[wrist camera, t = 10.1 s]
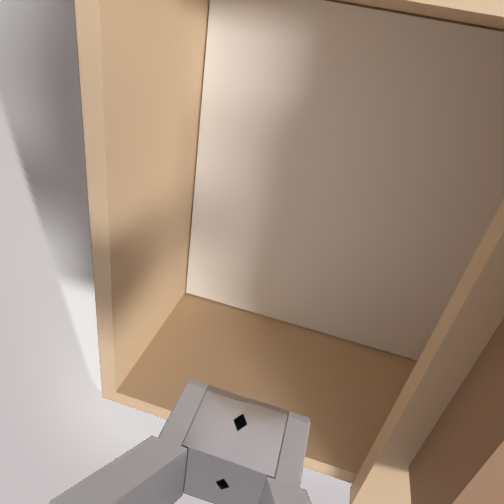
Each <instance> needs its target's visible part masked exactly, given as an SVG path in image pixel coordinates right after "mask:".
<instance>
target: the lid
mask: <svg viewBox="0 0 504 504" xmlns="http://www.w3.org/2000/svg"><path fill="white" fill-rule="evenodd" d="M350 504H504V199H503V201H502V202H501V204H500V206H499V208H498V210H497V212H496V214H495V216H494V218H493V219H492V221H491V223H490V225H489V227H488V229H487V231H486V233H485V235H484V236H483V238H482V240H481V242H480V244H479V246H478V248H477V250H476V252H475V253H474V255H473V257H472V259H471V261H470V263H469V265H468V267H467V268H466V270H465V272H464V274H463V276H462V278H461V280H460V282H459V284H458V285H457V287H456V289H455V291H454V293H453V295H452V297H451V299H450V301H449V302H448V304H447V306H446V308H445V310H444V312H443V314H442V316H441V318H440V319H439V321H438V323H437V325H436V327H435V329H434V331H433V333H432V335H431V336H430V338H429V340H428V342H427V344H426V346H425V348H424V350H423V351H422V353H421V355H420V357H419V359H418V361H417V363H416V365H415V367H414V368H413V370H412V372H411V374H410V376H409V378H408V380H407V382H406V384H405V385H404V387H403V389H402V391H401V393H400V395H399V397H398V399H397V401H396V402H395V404H394V406H393V408H392V410H391V412H390V414H389V416H388V418H387V419H386V421H385V423H384V425H383V427H382V429H381V431H380V433H379V435H378V436H377V438H376V440H375V442H374V444H373V446H372V448H371V450H370V451H369V453H368V455H367V457H366V459H365V461H364V463H363V465H362V467H361V468H360V470H359V472H358V474H357V476H356V478H355V480H354V482H353V484H352V485H351V487H350Z"/></svg>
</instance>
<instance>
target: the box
mask: <svg viewBox="0 0 504 504" xmlns="http://www.w3.org/2000/svg"><path fill="white" fill-rule="evenodd" d="M74 1H75V15H76V29H77V44H78V58H79V72H80V87H81V101H82V115H83V129H84V144H85V158H86V172H87V187H88V201H89V215H90V230H91V244H92V258H93V273H94V287H95V301H96V315H97V330H98V344H99V358H100V373H101V387H102V397H103V398H106V399H109V400H112V401H115V402H118V403H121V404H123V405H126V406H129V407H132V408H135V409H138V410H141V411H144V412H146V413H149V414H153V415H155V416H158V417H161V418H164V419H168V417H169V415H170V413H171V411H172V409H173V407H174V405H175V404H176V402H177V400H178V398H179V396H180V394H181V392H182V390H183V388H184V386H185V384H186V383H187V382H188V381H189V379H193V380H196V381H199V382H202V383H205V384H208V385H211V386H214V387H217V388H219V389H222V390H225V391H228V392H231V393H234V394H237V395H239V396H242V397H245V398H248V399H249V398H251V399H254V400H257V401H260V402H263V403H267V404H270V405H273V406H276V407H280V408H283V409H286V410H288V412H289V411H290V412H293V413H296V414H300V415H303V416H306V417H309V418H310V427H309V434H308V440H307V446H306V453H305V459H304V465H303V467H306V468H309V469H312V470H314V471H317V472H320V473H323V474H326V475H329V476H332V477H335V478H338V479H341V480H344V481H346V482H349V483H352V484H353V482H354V480H355V478H356V476H357V474H358V472H359V470H360V468H361V467H362V465H363V463H364V461H365V459H366V457H367V455H368V453H369V451H370V450H371V448H372V446H373V444H374V442H375V440H376V438H377V436H378V435H379V433H380V431H381V429H382V427H383V425H384V423H385V421H386V419H387V418H388V416H389V414H390V412H391V410H392V408H393V406H394V404H395V402H396V401H397V399H398V397H399V395H400V393H401V391H402V389H403V387H404V385H405V384H406V382H407V380H408V378H409V376H410V374H411V372H412V370H413V368H414V367H415V365H416V363H417V361H418V359H419V357H420V355H421V353H422V351H423V350H424V348H425V346H426V344H427V342H428V340H429V338H430V336H431V335H432V333H433V331H434V329H435V327H436V325H437V323H438V321H439V319H440V318H441V316H442V314H443V312H444V310H445V308H446V306H447V304H448V302H449V301H450V299H451V297H452V295H453V293H454V291H455V289H456V287H457V285H458V284H459V282H460V280H461V278H462V276H463V274H464V272H465V270H466V268H467V267H468V265H469V263H470V261H471V259H472V257H473V255H474V253H475V252H476V250H477V248H478V246H479V244H480V242H481V240H482V238H483V236H484V235H485V233H486V231H487V229H488V227H489V225H490V223H491V221H492V219H493V218H494V216H495V214H496V212H497V210H498V208H499V206H500V204H501V202H502V201H503V199H504V0H74Z"/></svg>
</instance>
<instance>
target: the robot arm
mask: <svg viewBox="0 0 504 504" xmlns="http://www.w3.org/2000/svg"><path fill="white" fill-rule="evenodd" d="M309 427H310V418H309V417H306V416H303V415H300V414H296V413H293V412H290V411H289V412H288V410H286V409H283V408H280V407H276V406H273V405H270V404H267V403H263V402H260V401H257V400H254V399H251V398H249V399H248V398H245V397H242V396H239V395H237V394H234V393H231V392H228V391H225V390H222V389H219V388H217V387H214V386H211V385H208V384H205V383H202V382H199V381H196V380H193V379H189V381H188V382H187V383H186V384H185V386H184V388H183V390H182V392H181V394H180V396H179V398H178V400H177V402H176V404H175V405H174V407H173V409H172V411H171V413H170V415H169V417H168V419H167V421H166V423H165V425H164V427H163V429H162V431H161V433H160V435H159V437H155V436H151V437H149V438H148V439H146V440H144V441H143V442H141V443H140V444H138V445H137V446H135V447H133V448H132V449H130V450H129V451H127V452H126V453H124V454H123V455H121V456H119V457H118V458H116V459H115V460H113V461H112V462H110V463H108V464H107V465H106V466H104V467H102V468H101V469H100V470H98V471H96V472H94V473H93V474H91V475H90V476H88V477H87V478H85V479H84V480H82V481H80V482H79V483H77V484H76V485H74V486H73V487H71V488H70V489H68V490H66V491H65V492H64V493H62V494H60V495H59V496H57V497H55V498H54V499H52V500H51V501H50V503H49V504H174V503H175V502H176V501H177V500H178V499H179V498H180V497H181V496H182V495H183V493H184V494H187V495H190V496H193V497H196V498H199V499H202V500H205V501H208V502H211V503H214V504H311V501H310V498H309V496H308V493H307V490H304V489H302V488H300V484H301V478H302V471H303V465H304V459H305V453H306V446H307V440H308V434H309Z"/></svg>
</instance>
